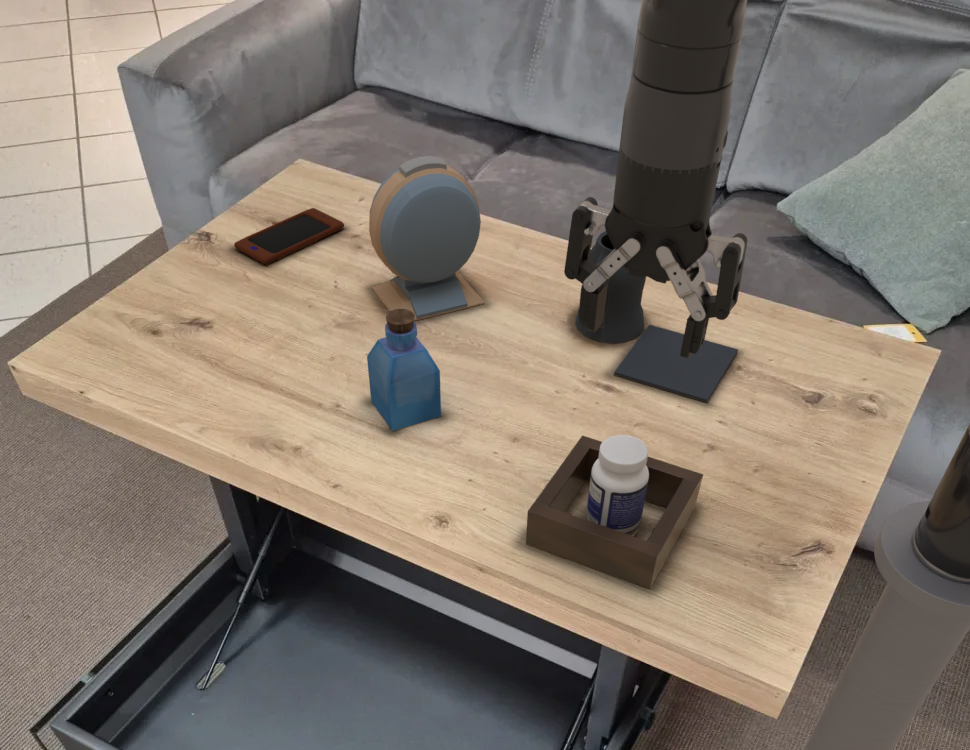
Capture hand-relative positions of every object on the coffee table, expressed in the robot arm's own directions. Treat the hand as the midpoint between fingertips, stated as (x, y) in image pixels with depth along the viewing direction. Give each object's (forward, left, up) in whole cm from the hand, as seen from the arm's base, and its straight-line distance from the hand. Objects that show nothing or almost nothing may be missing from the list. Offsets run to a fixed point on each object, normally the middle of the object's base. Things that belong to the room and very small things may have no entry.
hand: (640, 340), depth 81 cm
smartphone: (+64, -34, -22) cm, 76 cm away
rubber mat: (+4, -31, -22) cm, 38 cm away
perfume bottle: (+29, -7, -22) cm, 37 cm away
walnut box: (0, 0, -22) cm, 22 cm away
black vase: (+15, -34, -22) cm, 43 cm away
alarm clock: (+39, -30, -22) cm, 54 cm away
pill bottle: (0, 0, -22) cm, 22 cm away
